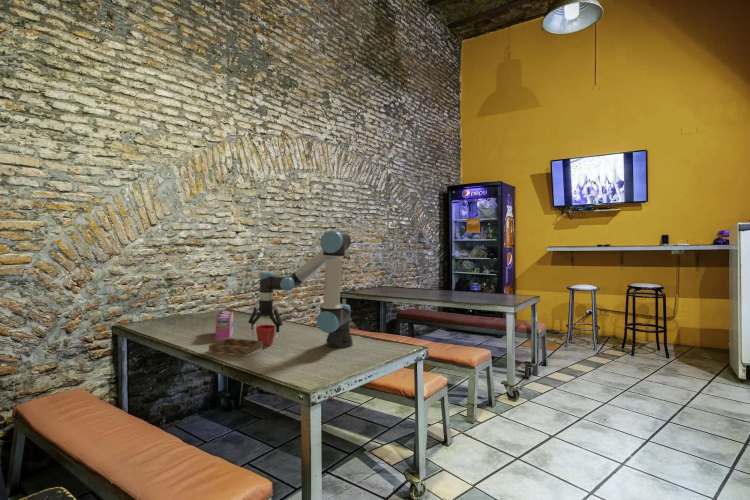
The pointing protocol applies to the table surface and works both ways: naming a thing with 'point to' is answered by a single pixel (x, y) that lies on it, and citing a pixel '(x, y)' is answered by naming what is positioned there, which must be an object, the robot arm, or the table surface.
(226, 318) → the gum box
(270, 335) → the flower pot
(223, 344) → the wooden tray
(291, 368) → the table surface
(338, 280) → the robot arm
